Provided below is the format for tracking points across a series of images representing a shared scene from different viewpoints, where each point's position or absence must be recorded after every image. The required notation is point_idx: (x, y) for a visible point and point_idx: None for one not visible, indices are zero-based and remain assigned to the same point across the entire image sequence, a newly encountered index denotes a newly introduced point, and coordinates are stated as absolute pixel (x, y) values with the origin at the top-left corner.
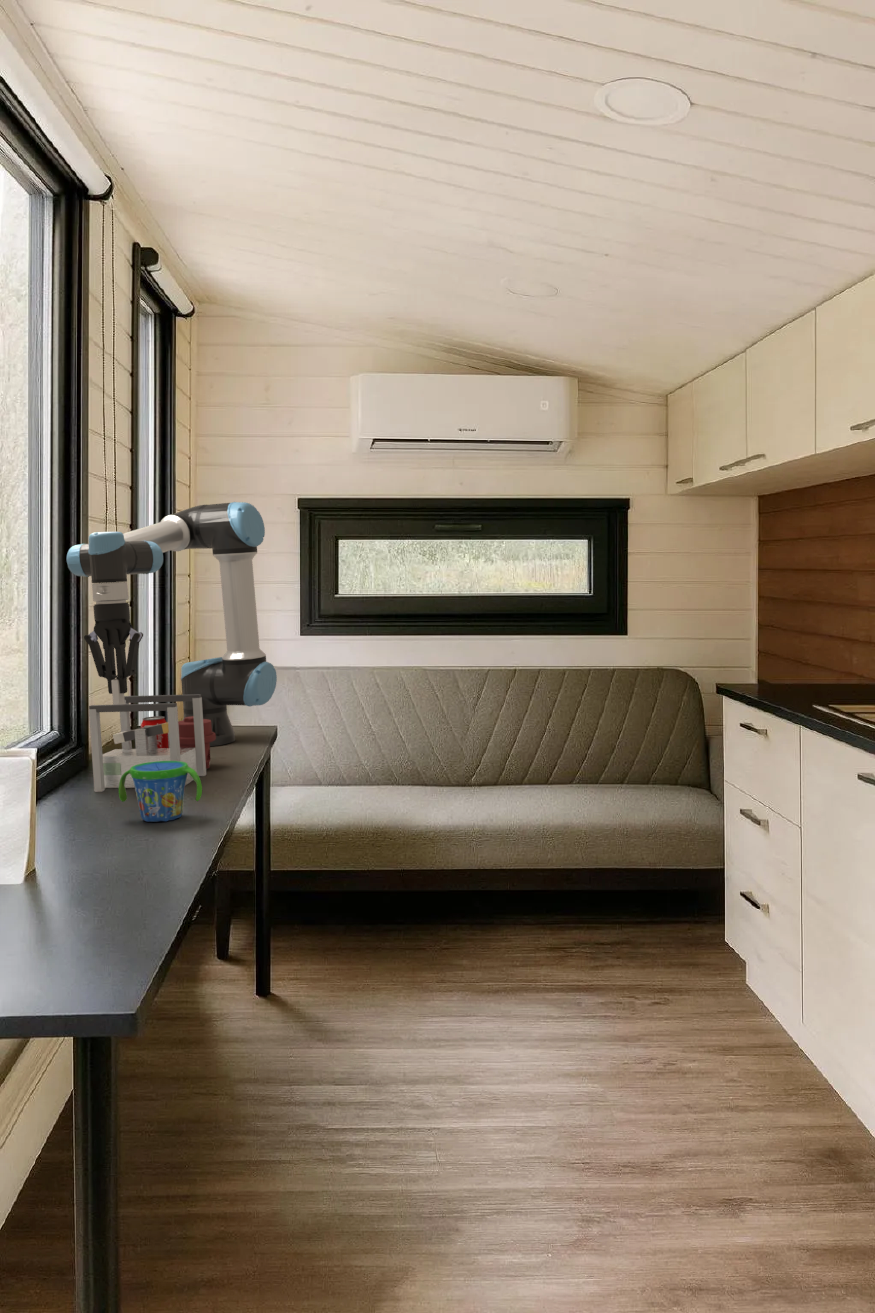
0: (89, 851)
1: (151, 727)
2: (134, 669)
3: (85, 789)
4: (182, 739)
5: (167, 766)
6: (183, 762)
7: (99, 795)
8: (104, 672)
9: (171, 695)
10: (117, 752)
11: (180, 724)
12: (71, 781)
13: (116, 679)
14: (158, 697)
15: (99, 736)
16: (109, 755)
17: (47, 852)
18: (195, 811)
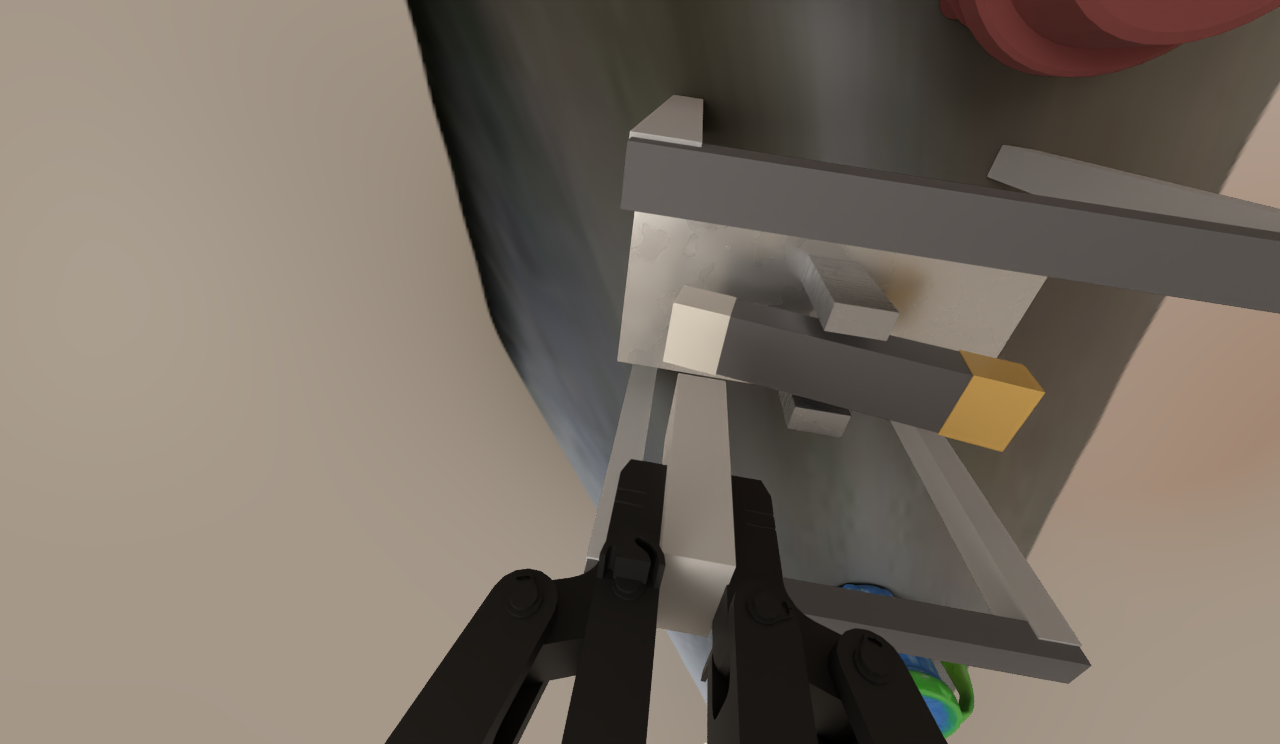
0: None
1: (876, 415)
2: (918, 723)
3: (592, 313)
4: (1028, 68)
5: None
6: (954, 710)
7: (665, 398)
8: (550, 675)
9: (1194, 283)
10: (675, 289)
11: (1093, 14)
12: (477, 162)
13: (687, 613)
14: (1034, 272)
15: None
16: (660, 349)
17: (700, 689)
18: (927, 579)
